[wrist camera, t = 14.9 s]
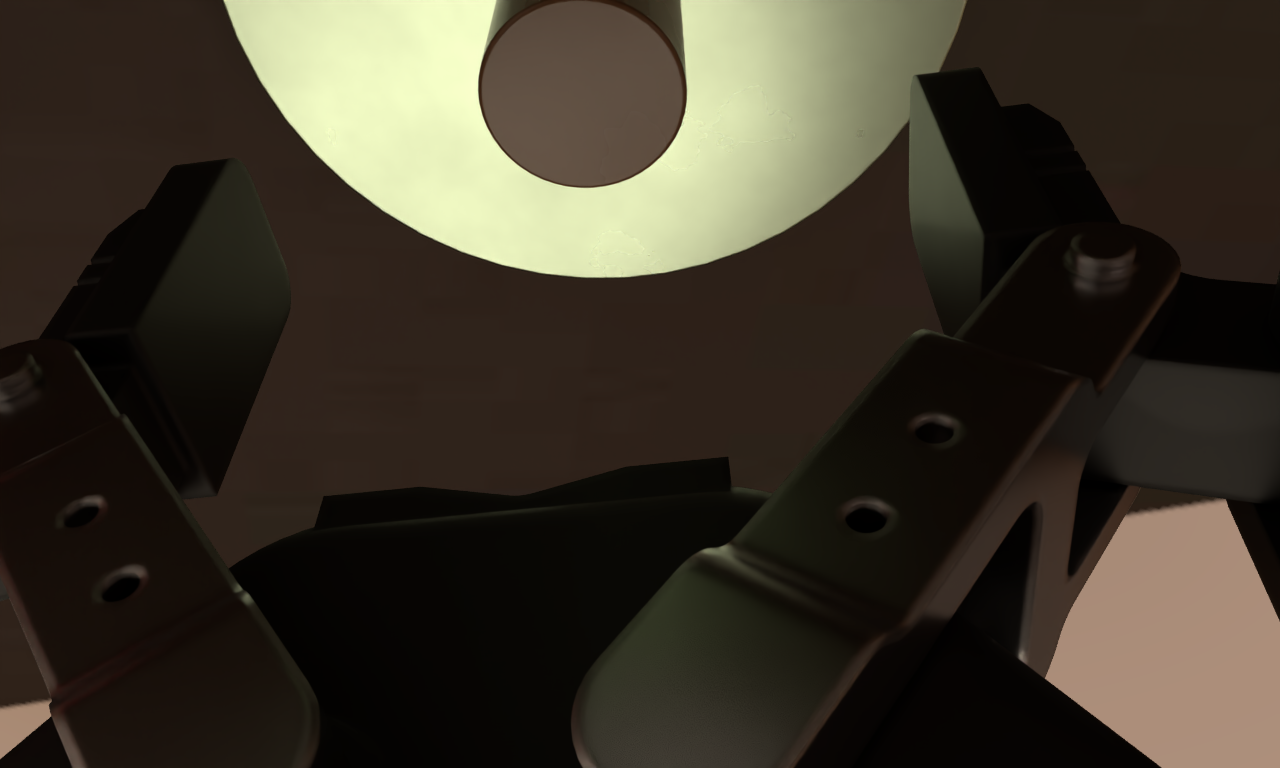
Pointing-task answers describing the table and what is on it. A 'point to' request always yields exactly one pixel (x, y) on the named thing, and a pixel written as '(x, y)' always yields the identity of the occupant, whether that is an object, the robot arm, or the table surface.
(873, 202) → the table surface
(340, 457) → the table surface
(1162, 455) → the robot arm
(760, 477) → the table surface
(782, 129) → the lid
